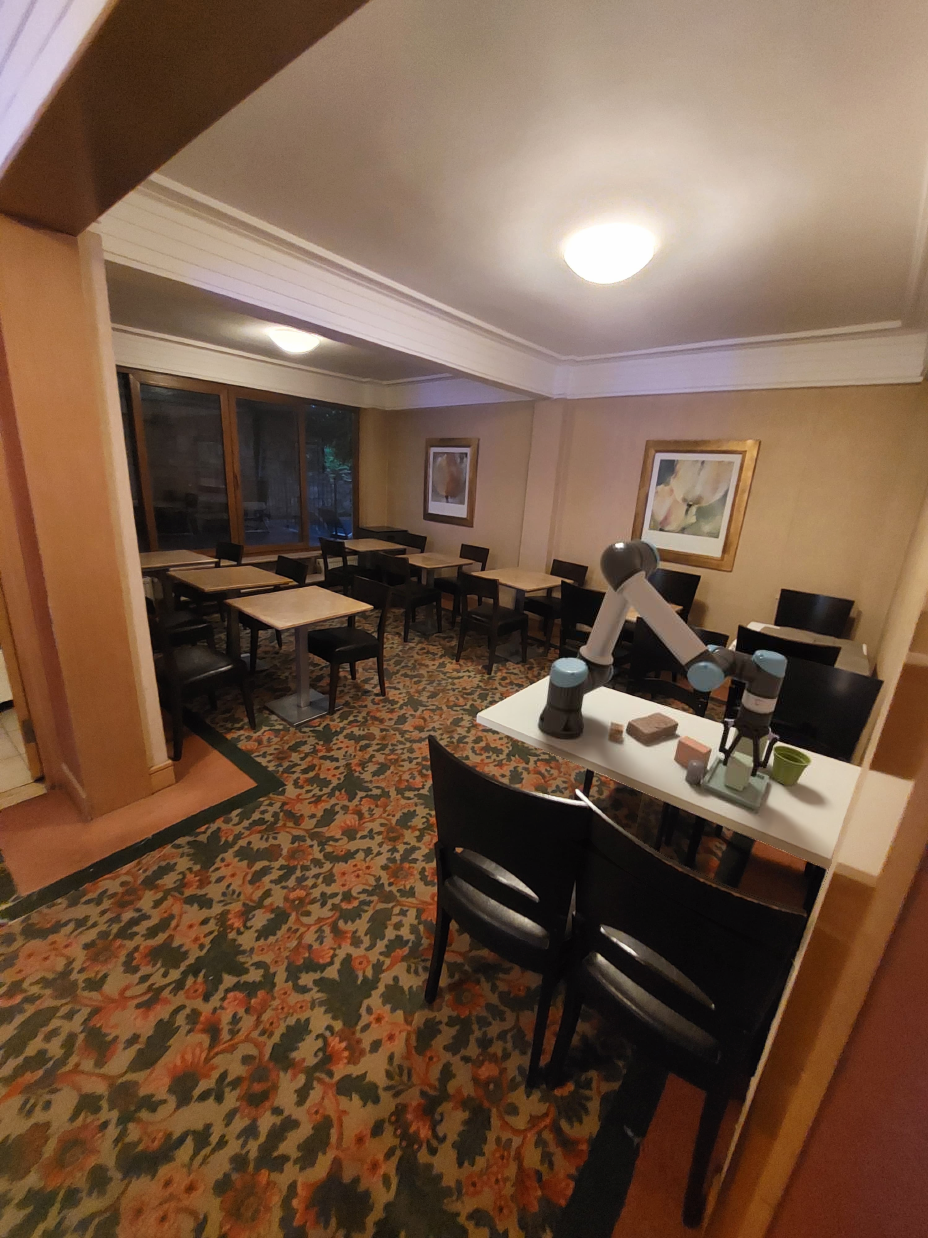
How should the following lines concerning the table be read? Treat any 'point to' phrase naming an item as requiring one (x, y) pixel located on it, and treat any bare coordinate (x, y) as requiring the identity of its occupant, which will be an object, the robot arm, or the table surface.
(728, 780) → the sage block
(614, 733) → the oak block
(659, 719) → the brick
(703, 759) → the terracotta block
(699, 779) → the grey canister
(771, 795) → the table surface
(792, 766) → the plant pot
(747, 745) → the can
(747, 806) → the tray
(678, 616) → the robot arm
